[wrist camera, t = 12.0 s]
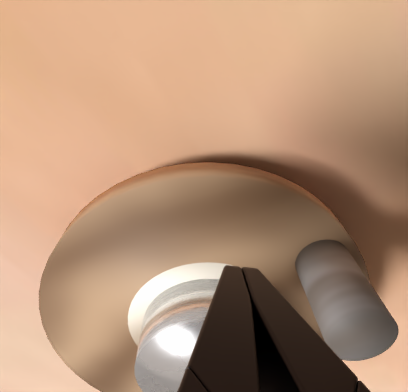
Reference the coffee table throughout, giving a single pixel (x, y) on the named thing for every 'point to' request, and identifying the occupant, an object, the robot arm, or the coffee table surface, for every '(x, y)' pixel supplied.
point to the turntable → (201, 263)
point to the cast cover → (171, 334)
